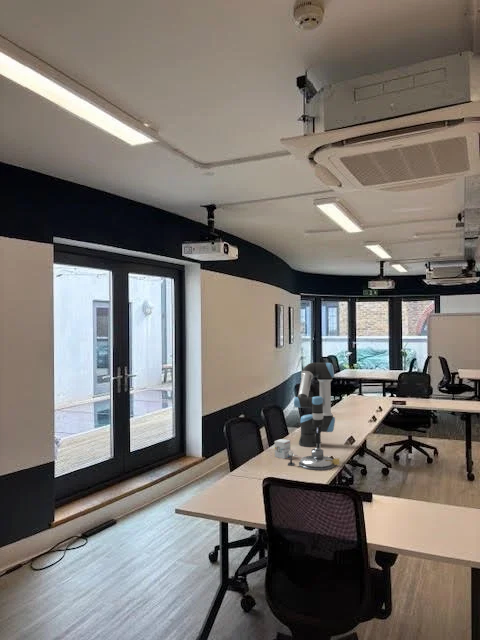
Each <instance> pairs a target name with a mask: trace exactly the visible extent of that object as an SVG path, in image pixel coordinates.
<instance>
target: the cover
mask: <svg viewBox="0 0 480 640" xmlns="http://www.w3.org/2000/svg"><path fill="white" fill-rule="evenodd" d="M311 456H312V458H313V459H323V458H324V456H325V455H324V449H322V448H321V449H320V448H316V447H314V448H313V449H311Z"/></svg>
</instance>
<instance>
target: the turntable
mask: <svg viewBox="0 0 480 640" xmlns="http://www.w3.org/2000/svg"><path fill="white" fill-rule="evenodd" d="M299 462H300V463H301V464H302V465H303V466H307V467H312V468H324V467H329V466H332V465H333V464H335V466H337V465H338V466H339V465H340V464H341V463H340V462H341V461H340V458H338V457H337V458H332V457H329V456H325V455H324V458H323V459H313V458H312V455H308V456H306V455H305V456H303V457H301V458H300V461H299Z"/></svg>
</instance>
